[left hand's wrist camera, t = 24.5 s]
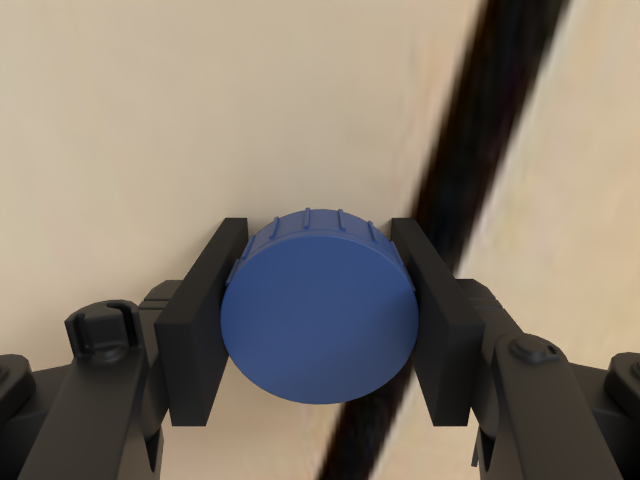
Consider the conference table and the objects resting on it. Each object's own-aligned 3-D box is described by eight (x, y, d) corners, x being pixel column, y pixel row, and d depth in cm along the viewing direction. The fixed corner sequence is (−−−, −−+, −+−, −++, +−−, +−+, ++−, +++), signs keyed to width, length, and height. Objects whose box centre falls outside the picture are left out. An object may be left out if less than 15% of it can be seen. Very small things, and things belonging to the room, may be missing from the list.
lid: (229, 202, 11) (211, 227, 9) (418, 210, 11) (438, 238, 9) (235, 355, 13) (220, 402, 11) (395, 361, 13) (408, 409, 11)
